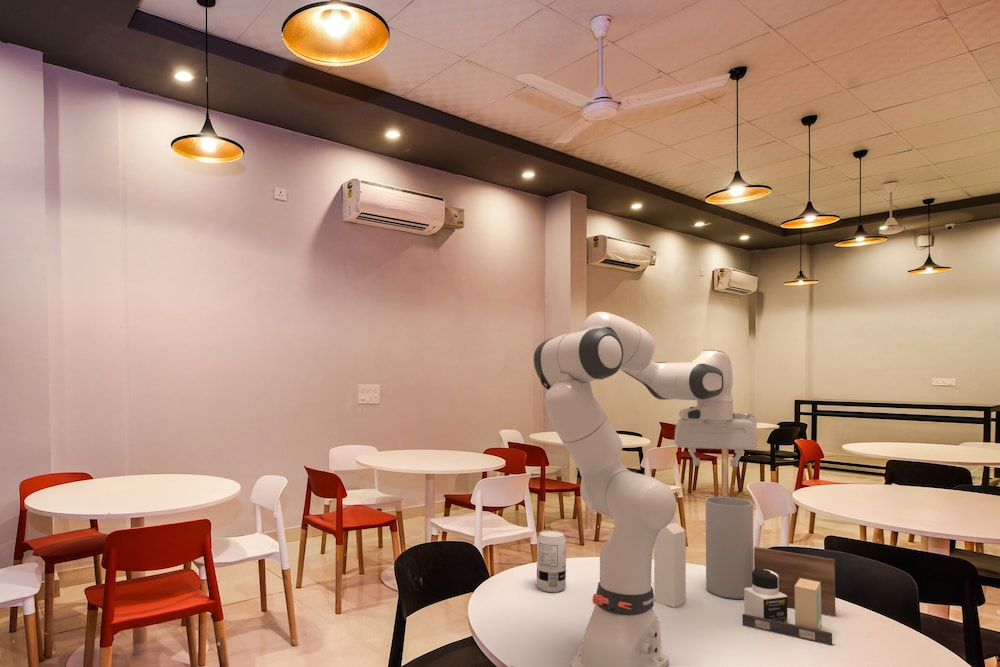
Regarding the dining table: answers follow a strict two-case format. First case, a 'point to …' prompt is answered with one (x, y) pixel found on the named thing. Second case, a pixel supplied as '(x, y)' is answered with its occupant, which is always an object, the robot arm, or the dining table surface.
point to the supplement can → (551, 561)
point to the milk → (670, 565)
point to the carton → (808, 604)
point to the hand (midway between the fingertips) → (715, 466)
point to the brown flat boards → (789, 573)
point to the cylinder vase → (729, 546)
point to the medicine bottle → (765, 597)
